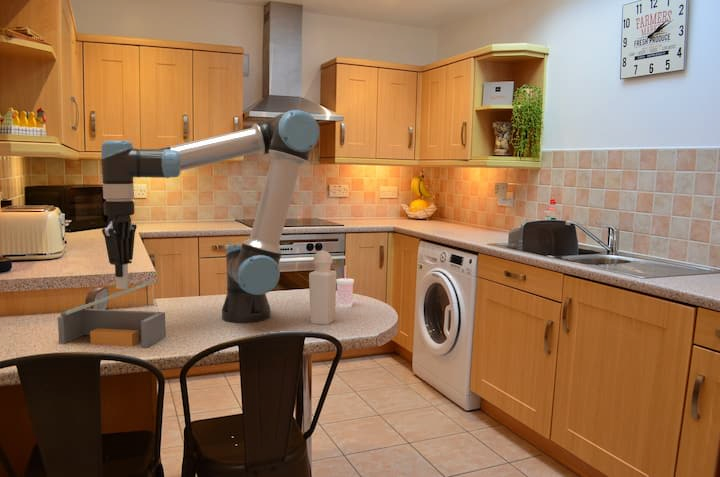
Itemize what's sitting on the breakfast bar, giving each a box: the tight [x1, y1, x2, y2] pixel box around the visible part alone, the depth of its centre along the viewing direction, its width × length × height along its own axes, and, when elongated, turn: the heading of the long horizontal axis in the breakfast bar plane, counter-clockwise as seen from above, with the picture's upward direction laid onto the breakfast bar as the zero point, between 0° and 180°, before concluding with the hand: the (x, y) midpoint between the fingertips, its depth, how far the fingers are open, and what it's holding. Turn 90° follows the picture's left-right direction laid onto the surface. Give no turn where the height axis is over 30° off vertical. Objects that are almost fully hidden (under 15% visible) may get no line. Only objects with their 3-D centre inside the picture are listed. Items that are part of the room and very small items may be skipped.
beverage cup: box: [336, 264, 355, 308], centre depth 200 cm, size 6×6×14 cm
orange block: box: [89, 328, 140, 347], centre depth 157 cm, size 12×3×4 cm, turn 80°
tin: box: [84, 285, 110, 310], centre depth 188 cm, size 15×3×8 cm, turn 5°
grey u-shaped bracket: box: [57, 309, 167, 349], centre depth 159 cm, size 25×10×7 cm, turn 81°
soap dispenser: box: [308, 250, 337, 326], centre depth 178 cm, size 6×6×22 cm
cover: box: [60, 279, 155, 317], centre depth 158 cm, size 23×9×1 cm, turn 81°
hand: (122, 288), depth 157 cm, fingers closed
